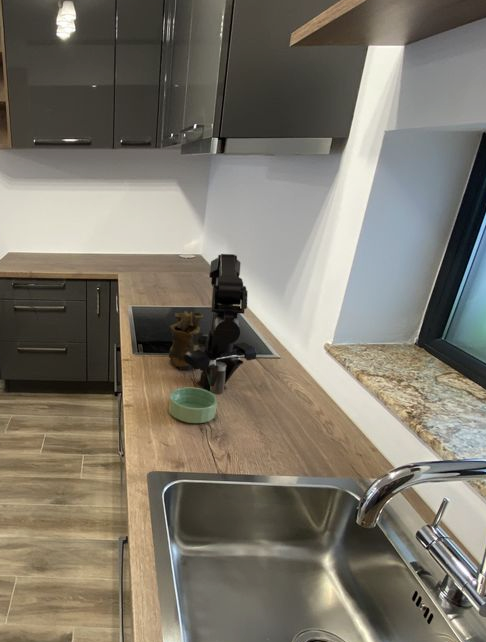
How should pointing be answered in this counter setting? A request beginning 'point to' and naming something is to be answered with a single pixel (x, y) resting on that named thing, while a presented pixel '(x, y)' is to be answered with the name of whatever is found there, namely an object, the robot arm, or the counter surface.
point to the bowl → (192, 405)
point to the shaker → (219, 379)
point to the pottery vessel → (184, 338)
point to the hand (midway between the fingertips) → (217, 384)
